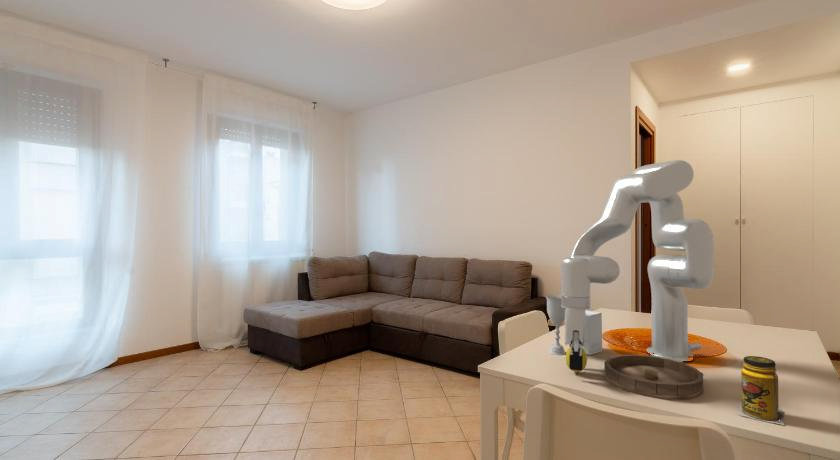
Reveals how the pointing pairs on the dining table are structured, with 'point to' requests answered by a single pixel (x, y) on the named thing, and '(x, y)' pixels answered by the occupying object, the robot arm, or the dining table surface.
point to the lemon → (569, 358)
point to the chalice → (556, 320)
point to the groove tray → (661, 376)
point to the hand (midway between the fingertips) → (575, 363)
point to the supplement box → (593, 333)
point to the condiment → (760, 390)
